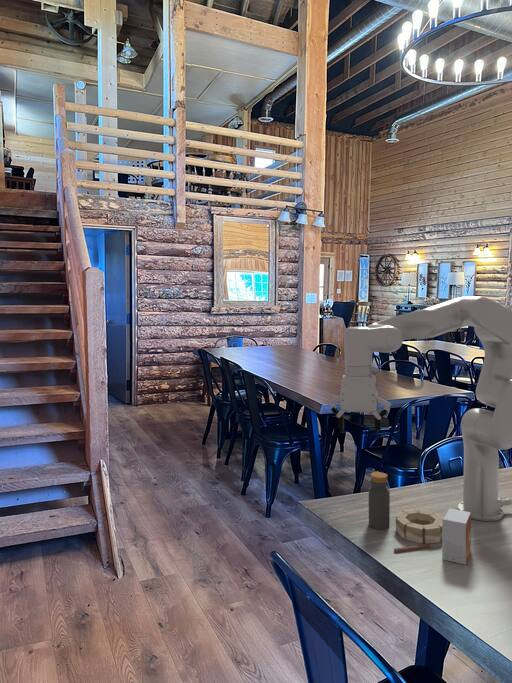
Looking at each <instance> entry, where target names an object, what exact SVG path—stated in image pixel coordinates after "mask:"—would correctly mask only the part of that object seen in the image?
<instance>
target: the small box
mask: <svg viewBox="0 0 512 683" xmlns="http://www.w3.org/2000/svg"><path fill="white" fill-rule="evenodd" d="M442 521H443V523H442V541H441V543H442V544H441V546H442V547H441V548H442V549H441V550H442V553H441V554H442V555H441V557H442V558H441V560H443V561H449V562H453V563H456V564H461V565H465V566H466V564H467V560H468V558H469V556H470V554H471V543H472V541H471V540H472V539H471V538H472V535H471V534H472V519H471V512H467V511H461V510H458V509H454V508H450V507H449V508H448V509H447V512H446V513H445V515H444V517H443V519H442Z"/></svg>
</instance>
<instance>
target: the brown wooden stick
mask: <svg viewBox="0 0 512 683" xmlns="http://www.w3.org/2000/svg"><path fill="white" fill-rule="evenodd" d="M431 546H432V545H431V543H430V544H425V543H423V544H418V545H417V544H416V545H410V546H405V547H403V546H401V547H395V548H393V552H394V553H397V554H398V553H403V552H411V551H417V550H419V551H420V550H423V549H431Z"/></svg>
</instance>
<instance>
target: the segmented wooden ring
mask: <svg viewBox="0 0 512 683" xmlns="http://www.w3.org/2000/svg"><path fill="white" fill-rule="evenodd" d="M443 518H444V517H443V516H442V515H440V514H438V513H437V512H434V511H430V510H428V509H427V510H426V509H421V508H418V509H416V508H412V509H411V508H410V509H402V510H401V511H399V512H398V513H397V515H396V516H395V532H396V533H397V535H399V536H400V538H402V539H405V540H406V541H409V542H413V543H418V544H420V545H423V544H430V545H431V544H435V543H440V542H442V523H443V521H442V519H443Z"/></svg>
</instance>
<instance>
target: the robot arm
mask: <svg viewBox="0 0 512 683" xmlns="http://www.w3.org/2000/svg"><path fill="white" fill-rule="evenodd" d="M464 327H473V330H474V333H475V335H476V337H477V338H478V339H479V341H480V343H481V344H482V345H481V346H482V347H483V351H484V357H483V364H482V367H481V370H480V374H479V377H478V380H477V383H476V384H477V385H476V388H475V397H476V399H477V400H478V402H480V403H481V404H484V405H486V406H489V407H491V408H495V409H494V411H492V410H488V409H485V408H479V407H477V408H476V407H475V408H470V409H468V410H467V411H465V413H464V414H463V416H462V417H461V421H460V429H461V435H462V436H461V437H462V441H463V483H462V484H463V486H462V487H463V489H462V490H463V491H462V492H463V494H462V496H463V497H462V499H463V500H462V501H461V502H459V503H458V504H457V510H461V511H467V512H471V520H472V519H473V520H476V521H480V522H481V521H482V522H495V521H499V520H502V519H503V518H504V511H503V509H502V508H503V507H504V506H512V499H511V498H509V497H508V498H502V497H501V496H499V467H500V466H499V464H500V463H499V462H500V461H499V460H500V458H499V450H501V451H503V450H505V451H506V450H509V449H511V448H512V310H511V309H509V308H507V307H506V306H503V305H502V304H501V303H498V302H497V301H494V300H493V299H491V298H488V297H487V296H486V297H485V296H480V295H479V296H478V295H477V296H476V295H475V296H473V295H472V296H460V297H456V298H452V299H450V300H449V299H448V300H446V301H445V302H441V303H438V304H435V305H431V306H428V307H425V308H421V309H417V310H414V311H411V312H407V313H404V314H400V315H395V316H392V317H389V318H385V319H382V320H379V321H376V322H373V323H371V324H367V326H349V327H347V328H345V329H344V333H343V336H344V337H343V338H344V339H343V340H344V342H343V343H344V344H343V347H344V374H343V375H342V378H341V385H340V394H339V395H338V396H336V397H334V398H331V399H330V400H328V402H327V404H328V406H329V408H330V410H331V412H332V413H333V414H334V415H335V416H336V418H337V428H338V429H339V432H340V433H342V432H344V430H345V416H344V413H346V412H348V413H366V414H371V413H372V414H373V416H374V417H375V419H374V434H376V435H378V434H379V431H381V429H382V419H383V417H384V416H386V414H388V412H389V410H390V407H392V403H391V402H389V401H388V400H386V399H384V398H382V397H380V396H379V394H378V393H379V392H378V382H377V378H376V377H377V376H376V375H374V373H375V374H376V373H378V371H379V369H378V367H377V366H373V352H374V353H386V354H388V353H394V352H395V351H397V350H399V349H400V348H401V347H402V345H403V342H404V341H405V340H407V341H408V340H413V339H414V340H418V339H419V340H421V339H424V340H425V339H430V338H435V337H438V336H441V335H444V334H446V333H449V332H453V331H455V330H458V329H461V328H464ZM338 402H339V407H340V410H339V408H338V407H336V405H335V404H336V403H338ZM379 404H381V405H382V406H383V409H382V410H380V411H379V409H378V407H379Z"/></svg>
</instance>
